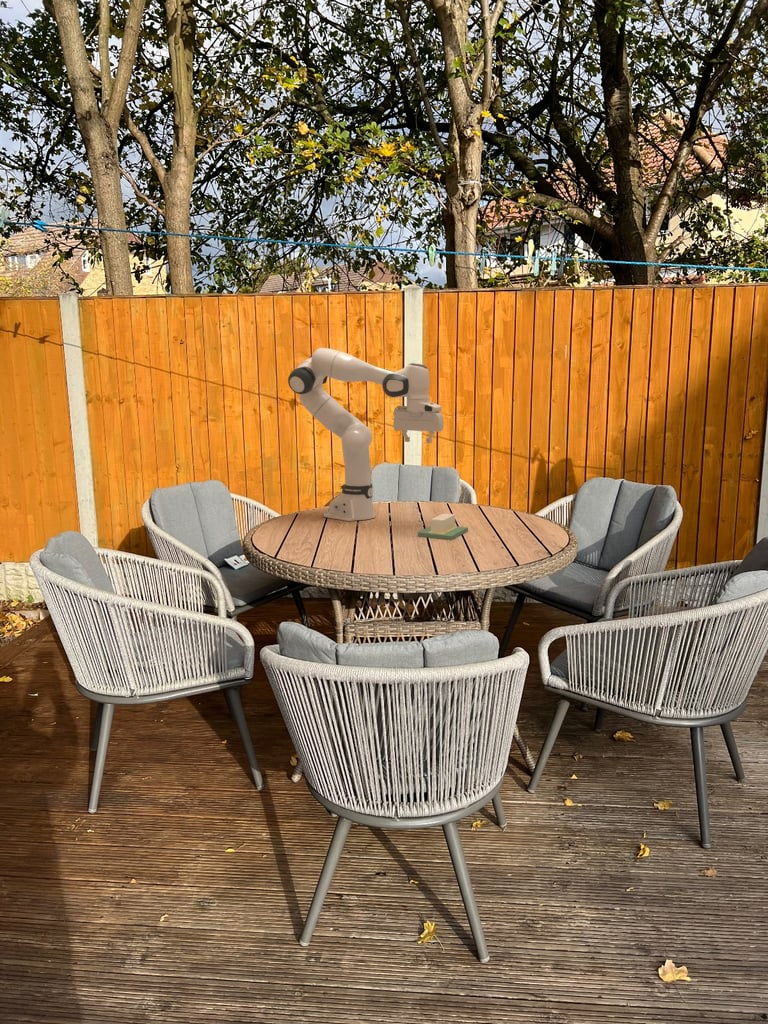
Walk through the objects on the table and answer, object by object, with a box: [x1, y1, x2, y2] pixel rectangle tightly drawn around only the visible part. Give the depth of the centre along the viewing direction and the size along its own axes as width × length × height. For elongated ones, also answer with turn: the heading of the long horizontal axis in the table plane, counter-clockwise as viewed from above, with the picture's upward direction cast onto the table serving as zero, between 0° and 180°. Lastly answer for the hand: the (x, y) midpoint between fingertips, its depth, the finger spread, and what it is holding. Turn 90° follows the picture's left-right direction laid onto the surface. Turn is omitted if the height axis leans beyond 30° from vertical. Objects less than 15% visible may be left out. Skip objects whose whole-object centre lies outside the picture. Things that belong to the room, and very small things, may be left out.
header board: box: [416, 525, 469, 541], centre depth 291 cm, size 14×16×5 cm
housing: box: [430, 513, 456, 533], centre depth 291 cm, size 5×11×5 cm, turn 152°
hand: (418, 442), depth 295 cm, fingers open, 8 cm apart
